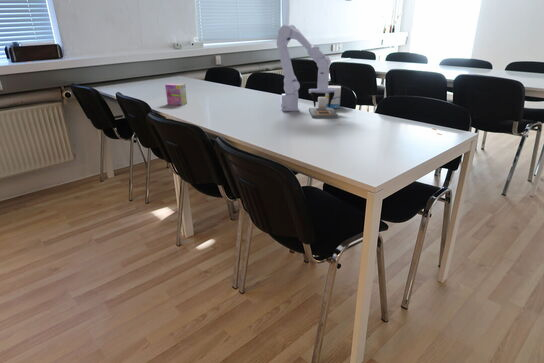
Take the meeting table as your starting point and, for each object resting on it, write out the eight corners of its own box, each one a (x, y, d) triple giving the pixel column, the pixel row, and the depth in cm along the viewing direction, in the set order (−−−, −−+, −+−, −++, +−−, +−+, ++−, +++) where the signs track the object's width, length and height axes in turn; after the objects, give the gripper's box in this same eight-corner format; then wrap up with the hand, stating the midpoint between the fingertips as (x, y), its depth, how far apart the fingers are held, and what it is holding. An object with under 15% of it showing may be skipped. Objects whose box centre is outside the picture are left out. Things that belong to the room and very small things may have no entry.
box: (167, 104, 226) (164, 84, 221) (172, 102, 231) (170, 82, 226) (181, 105, 222) (179, 85, 218) (187, 103, 227) (185, 83, 223)
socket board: (312, 117, 192) (312, 114, 192) (308, 110, 209) (308, 107, 208) (337, 117, 192) (337, 114, 192) (332, 110, 209) (332, 107, 208)
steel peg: (318, 113, 203) (319, 98, 200) (317, 111, 207) (318, 96, 204) (325, 113, 203) (326, 98, 200) (324, 111, 207) (325, 96, 204)
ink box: (339, 108, 213) (340, 87, 209) (324, 108, 215) (325, 87, 210) (339, 105, 221) (341, 85, 216) (325, 105, 222) (326, 85, 218)
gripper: (310, 81, 195) (309, 108, 200) (338, 81, 195) (336, 108, 200) (308, 80, 201) (307, 105, 206) (335, 79, 201) (334, 105, 206)
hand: (321, 106), depth 204 cm, fingers open, 7 cm apart
